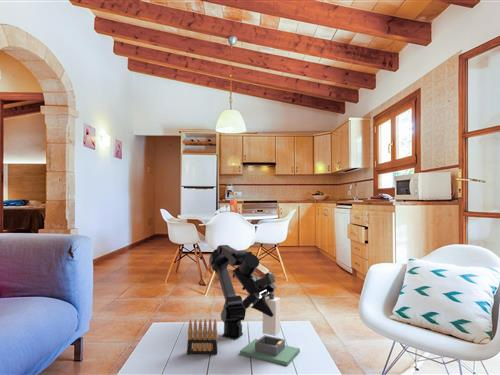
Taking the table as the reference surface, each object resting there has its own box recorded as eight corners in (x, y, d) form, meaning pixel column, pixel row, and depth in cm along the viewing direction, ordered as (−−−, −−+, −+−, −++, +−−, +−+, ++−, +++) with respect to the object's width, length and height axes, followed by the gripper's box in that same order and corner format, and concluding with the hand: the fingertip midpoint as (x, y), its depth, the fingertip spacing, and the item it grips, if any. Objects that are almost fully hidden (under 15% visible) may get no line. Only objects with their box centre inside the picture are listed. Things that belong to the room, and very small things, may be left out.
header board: (239, 354, 117) (240, 341, 117) (255, 341, 127) (255, 330, 127) (287, 365, 108) (287, 352, 108) (299, 351, 119) (299, 339, 119)
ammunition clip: (217, 352, 118) (217, 318, 119) (217, 354, 116) (217, 320, 117) (187, 352, 118) (188, 318, 119) (186, 354, 116) (187, 319, 117)
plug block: (262, 333, 118) (262, 293, 119) (267, 329, 122) (267, 290, 122) (275, 335, 115) (275, 295, 116) (280, 331, 119) (280, 292, 120)
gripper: (250, 270, 113) (280, 307, 108) (271, 262, 130) (298, 294, 124) (230, 290, 116) (258, 327, 111) (253, 280, 133) (279, 312, 127)
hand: (275, 314), depth 118 cm, fingers closed on plug block, 4 cm apart
